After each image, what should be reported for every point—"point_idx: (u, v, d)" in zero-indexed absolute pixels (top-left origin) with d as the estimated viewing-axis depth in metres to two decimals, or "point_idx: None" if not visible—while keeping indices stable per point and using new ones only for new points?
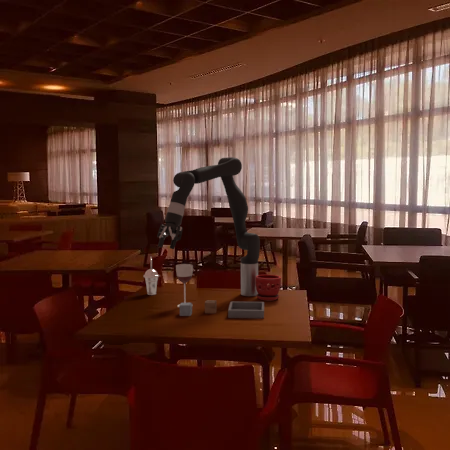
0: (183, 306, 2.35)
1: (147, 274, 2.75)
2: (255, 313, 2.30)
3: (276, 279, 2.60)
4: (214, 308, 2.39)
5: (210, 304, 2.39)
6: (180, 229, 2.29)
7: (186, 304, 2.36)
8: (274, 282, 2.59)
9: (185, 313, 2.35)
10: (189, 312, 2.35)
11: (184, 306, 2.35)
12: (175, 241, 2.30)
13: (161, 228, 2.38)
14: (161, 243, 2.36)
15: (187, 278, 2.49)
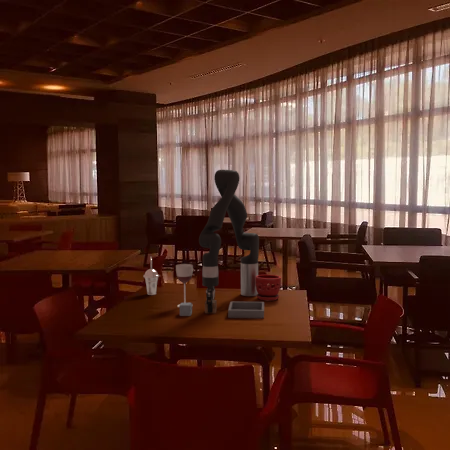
0: (183, 306, 2.35)
1: (147, 274, 2.75)
2: (255, 313, 2.30)
3: (276, 279, 2.60)
4: (214, 308, 2.39)
5: None
6: (208, 295, 2.34)
7: (186, 304, 2.36)
8: (274, 282, 2.59)
9: (185, 313, 2.35)
10: (189, 312, 2.35)
11: (184, 306, 2.35)
12: (210, 305, 2.37)
13: None
14: None
15: (187, 278, 2.49)
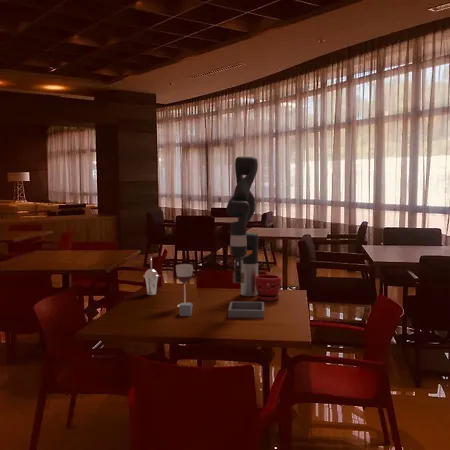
0: (183, 306, 2.35)
1: (147, 274, 2.75)
2: (255, 313, 2.30)
3: (276, 279, 2.60)
4: (242, 278, 2.34)
5: None
6: (237, 264, 2.30)
7: (186, 304, 2.36)
8: (274, 282, 2.59)
9: (185, 313, 2.35)
10: (189, 312, 2.35)
11: (184, 306, 2.35)
12: (238, 275, 2.33)
13: None
14: None
15: (187, 278, 2.49)
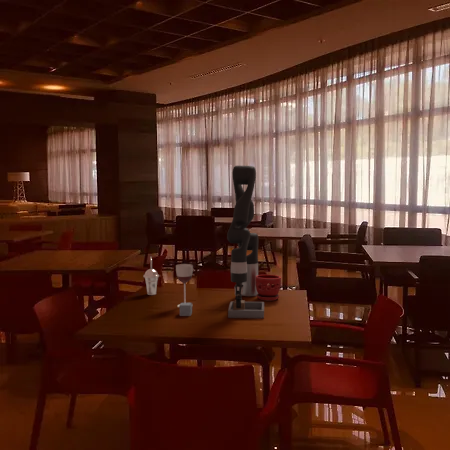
0: (183, 306, 2.35)
1: (147, 274, 2.75)
2: (255, 313, 2.30)
3: (276, 279, 2.60)
4: (243, 308, 2.35)
5: None
6: (237, 289, 2.30)
7: (186, 304, 2.36)
8: (274, 282, 2.59)
9: (185, 313, 2.35)
10: (189, 312, 2.35)
11: (184, 306, 2.35)
12: (238, 301, 2.32)
13: None
14: None
15: (187, 278, 2.49)
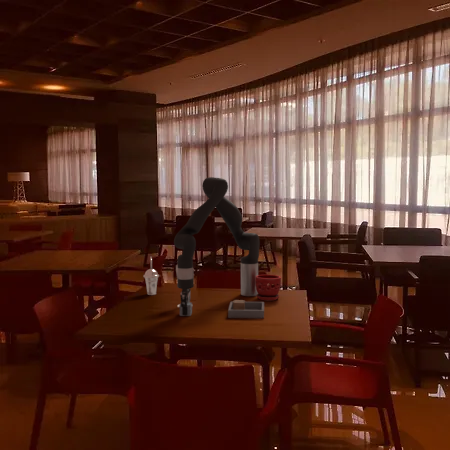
0: None
1: (147, 274, 2.75)
2: (255, 313, 2.30)
3: (276, 279, 2.60)
4: (243, 308, 2.35)
5: (239, 304, 2.35)
6: (183, 298, 2.30)
7: None
8: (274, 282, 2.59)
9: None
10: (189, 312, 2.35)
11: None
12: (184, 308, 2.33)
13: None
14: None
15: None
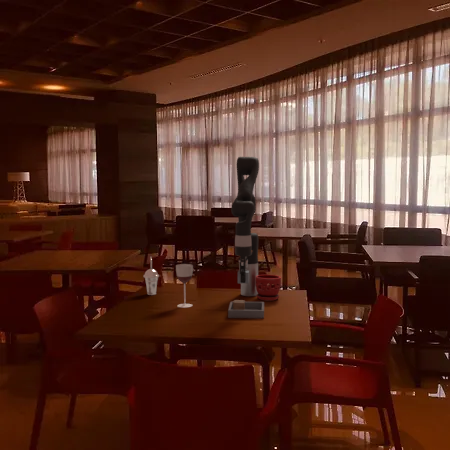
0: None
1: (147, 274, 2.75)
2: (255, 313, 2.30)
3: (276, 279, 2.60)
4: (243, 308, 2.35)
5: (239, 304, 2.35)
6: (242, 264, 2.29)
7: None
8: (274, 282, 2.59)
9: None
10: (247, 279, 2.34)
11: None
12: (243, 275, 2.32)
13: None
14: None
15: (187, 278, 2.49)
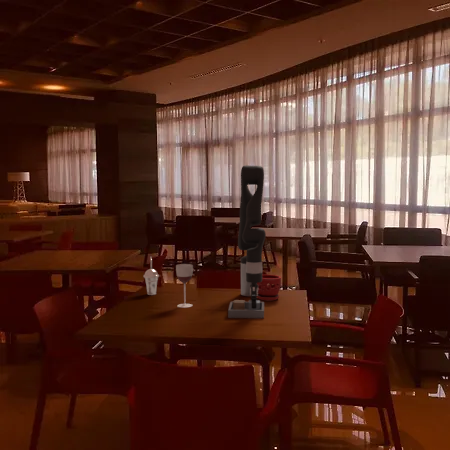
0: None
1: (147, 274, 2.75)
2: (255, 313, 2.30)
3: (276, 279, 2.60)
4: (243, 308, 2.35)
5: (239, 304, 2.35)
6: (253, 289, 2.30)
7: None
8: (274, 282, 2.59)
9: None
10: None
11: None
12: (254, 301, 2.32)
13: None
14: None
15: (187, 278, 2.49)
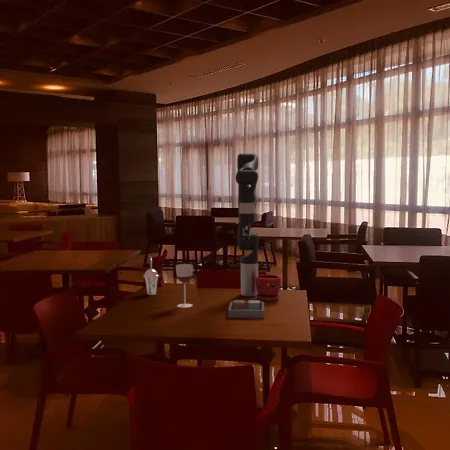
0: (252, 304, 2.35)
1: (147, 274, 2.75)
2: (255, 313, 2.30)
3: (276, 279, 2.60)
4: (243, 308, 2.35)
5: (239, 304, 2.35)
6: (246, 228, 2.37)
7: (255, 302, 2.36)
8: (274, 282, 2.59)
9: None
10: None
11: (253, 304, 2.35)
12: (247, 240, 2.40)
13: None
14: None
15: (187, 278, 2.49)
